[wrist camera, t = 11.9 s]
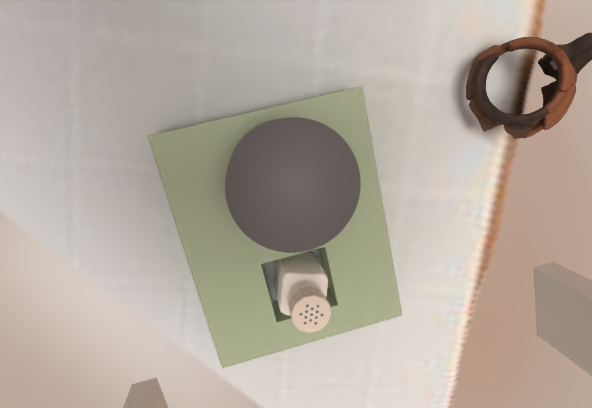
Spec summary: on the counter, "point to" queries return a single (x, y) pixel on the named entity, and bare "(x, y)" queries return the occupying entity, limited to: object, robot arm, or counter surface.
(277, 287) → the pepper shaker
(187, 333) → the counter surface
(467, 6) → the counter surface
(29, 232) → the counter surface
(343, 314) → the green knob base
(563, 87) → the dark brown open frame
